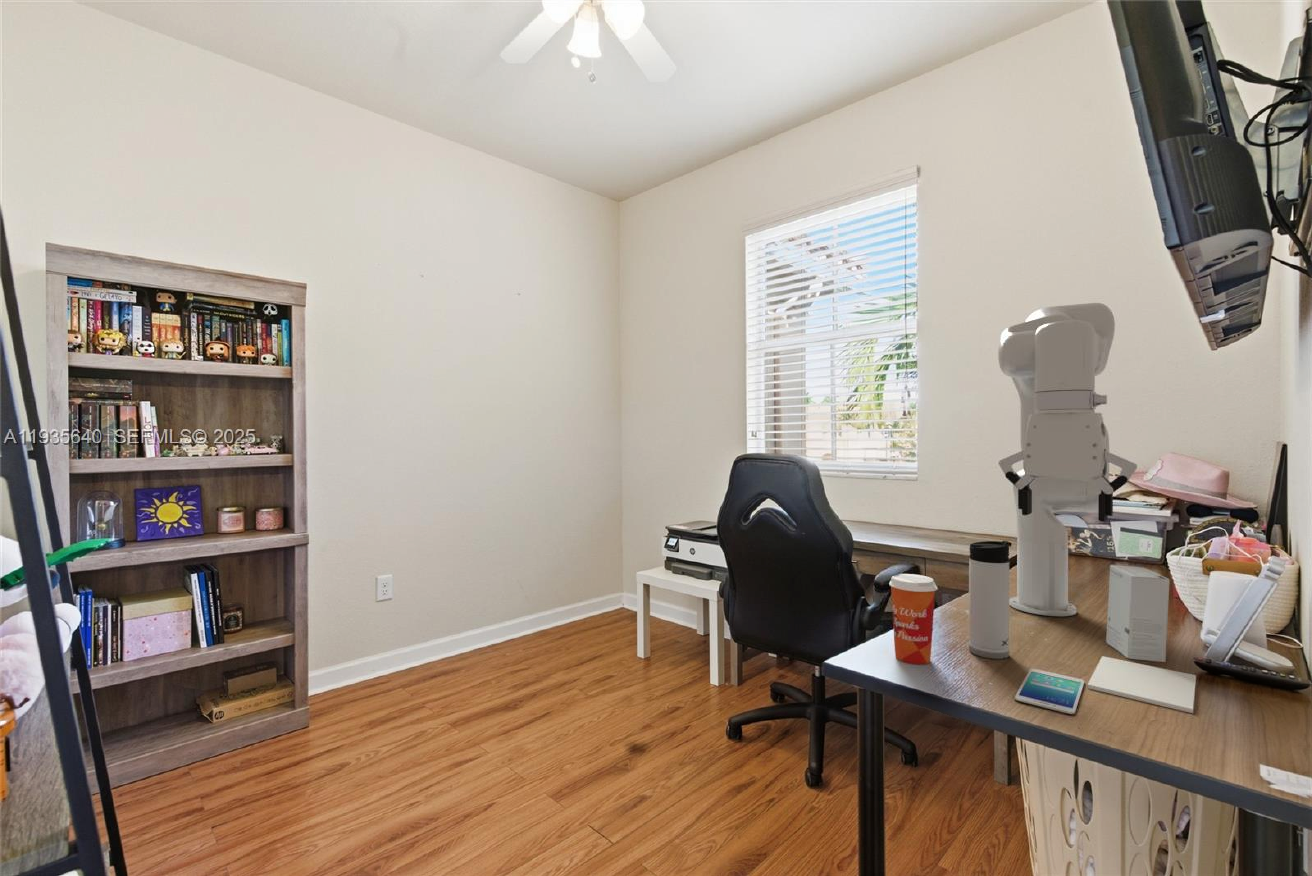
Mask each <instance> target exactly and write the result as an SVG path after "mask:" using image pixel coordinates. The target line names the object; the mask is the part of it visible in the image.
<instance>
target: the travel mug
mask: <svg viewBox="0 0 1312 876" xmlns="http://www.w3.org/2000/svg"><path fill="white" fill-rule="evenodd" d="M1010 547H1012V542H1010V541H1008V540H1002V541H999V540H998V541H997V540H996V541H995V540H988V541H987V540H986V541H977V542H972V543H970V545H969V558H968V560H969V563H968V564H969V565H968V568H969V569H968V604H969V605H968V649H969V652H970V653H972V654H974V655H975V656H977V655H978V657H980V656H982V657H981V658H984V657H986V658H985V659H989V658H993V659H992V660H1004V659H1003V658H1005V659H1007V658H1008V657H1009V656H1010V604H1009V599H1010Z"/></svg>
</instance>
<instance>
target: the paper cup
mask: <svg viewBox="0 0 1312 876" xmlns="http://www.w3.org/2000/svg"><path fill="white" fill-rule="evenodd" d="M888 584H889V586H890V591H891V592H890V593H891V606H892V607H891V609H892V625H893V628H892V629H893V642H894V652H895V653H894V654H895V659H897V660H898V661H900V662H902V663H906V664H908V665H909V664H911V665H919V666H921V665H926V664H929V663H930V661H931V658H932V657H931V655H932V643H933V629H934V612H935V598H936V597H935V595H936V591H938V586H937V585H936V583H935V581H934V579H933V578H932V577H931V576H925V575H923V574H921V575H920V574H914V573H911V574H910V573H899V574H896V575H892V576H891V579H890V581H889V583H888Z"/></svg>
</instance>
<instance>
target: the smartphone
mask: <svg viewBox="0 0 1312 876" xmlns="http://www.w3.org/2000/svg"><path fill="white" fill-rule="evenodd" d="M1084 687H1085V680H1084V679H1082V678H1078V677H1072V676H1068V675H1064V674H1059V673H1055V672H1050V671H1047V670H1041V669H1036V668H1030V669H1029V671H1028V672H1027V674H1026V676H1025V678H1024V680H1023V681H1022V682H1021V685H1020V687H1019V688H1018V690H1017V691H1016V693H1015V696H1014V702H1016V703H1018V704H1023V705H1026V706H1030V707H1034V708H1038V709H1042V710H1046V711H1051V712H1054V713H1058V714H1061V715H1067V716H1070V717H1072V716H1075V715H1076V712H1077V710H1078V709H1079V706H1080V699H1081V697H1082V693H1083V689H1084Z"/></svg>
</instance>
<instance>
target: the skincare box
mask: <svg viewBox="0 0 1312 876" xmlns="http://www.w3.org/2000/svg"><path fill="white" fill-rule="evenodd" d="M1108 582H1109V583H1108V601H1107V619H1106V620H1107V621H1106V637H1105V638H1106V640H1105V642H1106V644H1107V645H1109V646H1110V647H1111V648H1113V649H1115V650H1116V651H1118V652H1119V653H1120V654H1122V655H1123V656H1124V658H1126V659H1130V660H1137V661H1139V660H1140V661H1150V662H1159V663H1161V662H1162V663H1166V661H1167V659H1166V657H1167V639H1168V638H1167V636H1168V633H1167V632H1168V617H1169V615H1168V614H1169V600H1170V598H1169V597H1170V594H1169V593H1170V579H1169V578H1167V577H1166V576H1163V575H1162V574H1160V573H1158V572H1156V571H1154V570H1150V569H1149V568H1145V567H1142V566H1141V567H1140V566H1129V565H1127V566H1126V565H1115V564H1111V565H1109V581H1108Z"/></svg>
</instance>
